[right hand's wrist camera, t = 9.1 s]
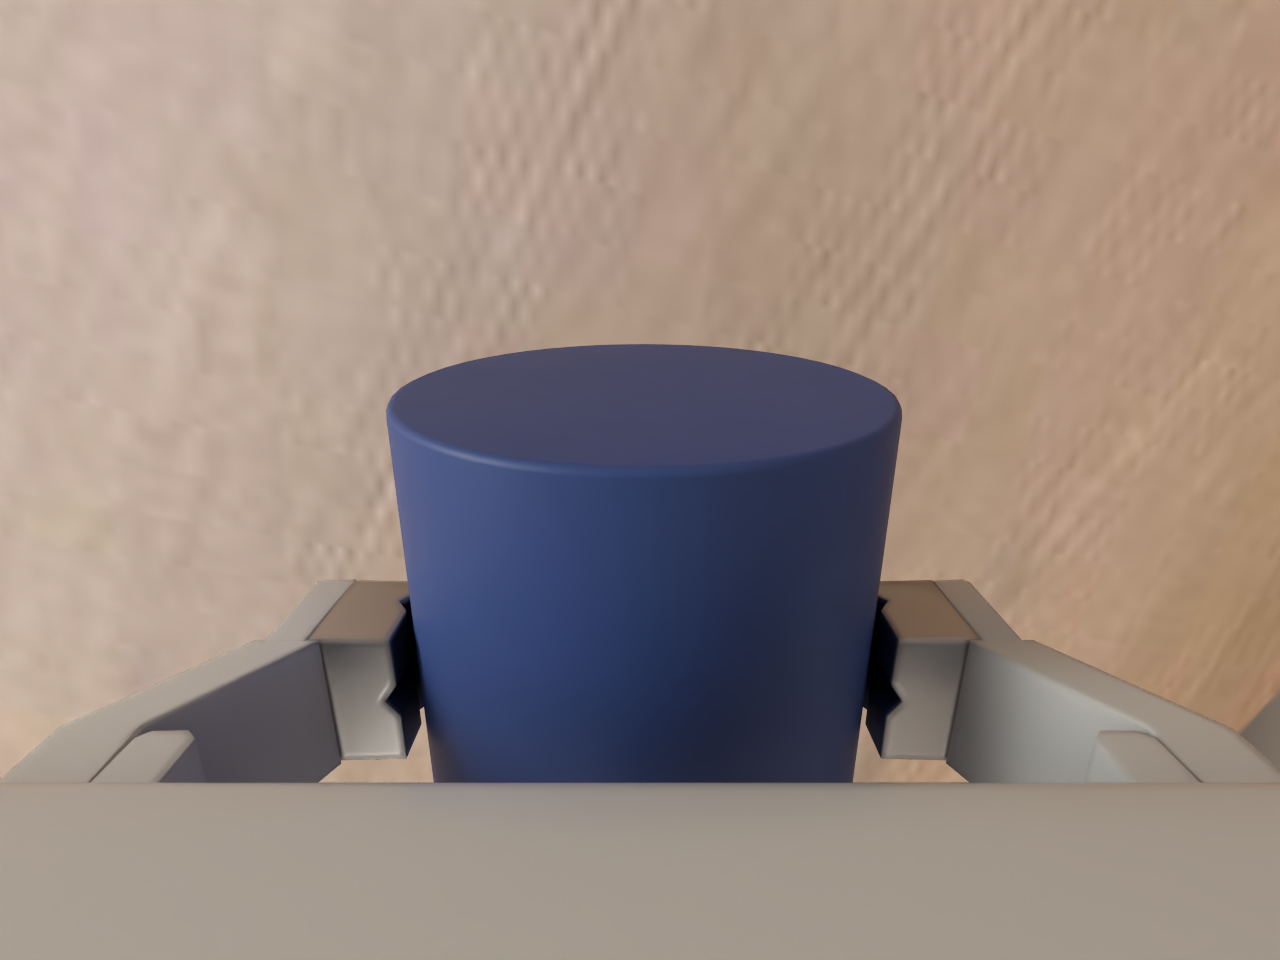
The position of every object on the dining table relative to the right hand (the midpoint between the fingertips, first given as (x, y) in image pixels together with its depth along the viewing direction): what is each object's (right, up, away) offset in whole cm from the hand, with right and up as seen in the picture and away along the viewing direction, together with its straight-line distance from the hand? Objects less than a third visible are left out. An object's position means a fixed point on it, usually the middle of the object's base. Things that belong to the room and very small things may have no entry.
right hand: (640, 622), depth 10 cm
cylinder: (0, -7, +6) cm, 9 cm away
